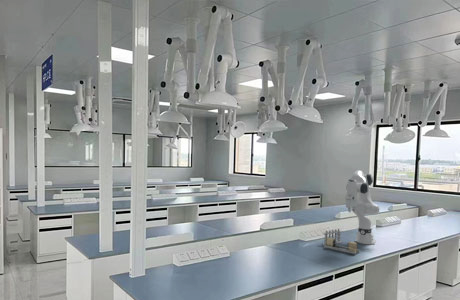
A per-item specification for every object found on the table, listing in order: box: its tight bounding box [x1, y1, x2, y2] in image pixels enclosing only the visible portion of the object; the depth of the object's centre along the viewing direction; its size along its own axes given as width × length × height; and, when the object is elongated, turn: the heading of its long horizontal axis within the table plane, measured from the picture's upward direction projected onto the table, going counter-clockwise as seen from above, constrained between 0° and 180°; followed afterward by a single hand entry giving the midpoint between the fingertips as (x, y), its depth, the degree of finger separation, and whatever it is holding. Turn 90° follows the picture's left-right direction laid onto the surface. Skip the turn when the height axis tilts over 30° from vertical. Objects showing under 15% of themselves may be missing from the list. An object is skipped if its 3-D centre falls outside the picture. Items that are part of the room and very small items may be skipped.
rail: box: [323, 236, 360, 256], centre depth 284 cm, size 10×28×9 cm, turn 49°
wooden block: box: [347, 241, 358, 252], centre depth 278 cm, size 4×7×8 cm, turn 49°
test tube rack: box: [321, 228, 343, 246], centre depth 308 cm, size 25×4×13 cm, turn 123°
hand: (351, 211), depth 291 cm, fingers open, 8 cm apart
